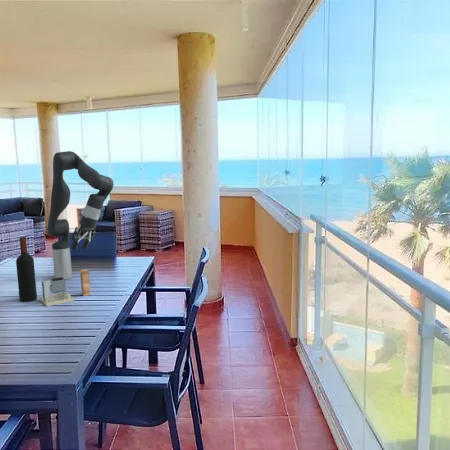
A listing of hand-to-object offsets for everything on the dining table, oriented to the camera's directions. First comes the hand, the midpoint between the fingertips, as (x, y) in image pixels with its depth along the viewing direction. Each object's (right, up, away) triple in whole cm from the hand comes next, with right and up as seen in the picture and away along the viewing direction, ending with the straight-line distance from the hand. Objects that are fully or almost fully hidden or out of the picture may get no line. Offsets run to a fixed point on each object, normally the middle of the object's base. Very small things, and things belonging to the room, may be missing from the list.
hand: (79, 249), depth 200 cm
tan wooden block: (0, -23, +9) cm, 25 cm away
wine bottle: (-25, -24, +3) cm, 35 cm away
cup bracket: (-10, -24, +2) cm, 26 cm away
